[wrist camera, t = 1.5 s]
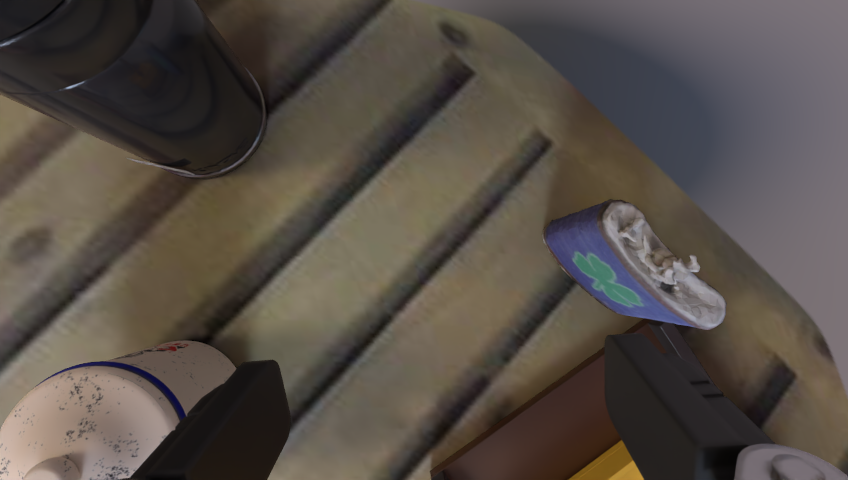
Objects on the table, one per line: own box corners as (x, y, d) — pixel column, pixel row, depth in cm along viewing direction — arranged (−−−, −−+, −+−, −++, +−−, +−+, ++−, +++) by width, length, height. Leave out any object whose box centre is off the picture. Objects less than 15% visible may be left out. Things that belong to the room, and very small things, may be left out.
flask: (643, 298, 32) (767, 312, 21) (617, 326, 31) (730, 354, 21) (557, 211, 32) (637, 181, 21) (531, 238, 31) (598, 221, 21)
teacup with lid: (196, 309, 29) (66, 333, 18) (277, 409, 29) (198, 500, 18) (51, 423, 28) (-189, 528, 17) (134, 528, 28) (-51, 708, 16)
